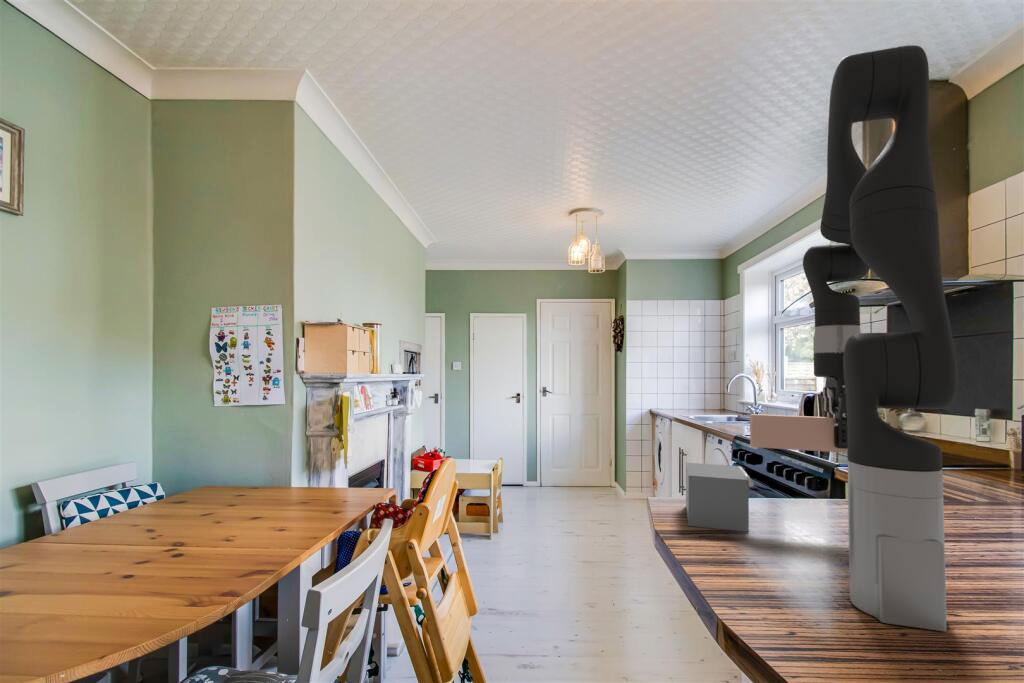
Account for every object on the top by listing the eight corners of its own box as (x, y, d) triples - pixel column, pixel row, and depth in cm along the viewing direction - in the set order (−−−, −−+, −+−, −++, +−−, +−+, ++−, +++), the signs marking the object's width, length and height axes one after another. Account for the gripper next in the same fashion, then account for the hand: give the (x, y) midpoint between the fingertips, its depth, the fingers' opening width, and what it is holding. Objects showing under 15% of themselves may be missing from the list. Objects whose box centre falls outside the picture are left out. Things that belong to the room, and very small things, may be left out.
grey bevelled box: (754, 532, 89) (754, 480, 89) (688, 525, 92) (688, 475, 92) (743, 511, 102) (742, 466, 103) (685, 506, 105) (685, 462, 106)
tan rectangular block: (850, 452, 90) (850, 419, 90) (752, 447, 95) (752, 414, 95) (846, 451, 92) (845, 417, 93) (750, 445, 97) (750, 413, 97)
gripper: (876, 349, 85) (878, 454, 84) (848, 353, 98) (849, 443, 97) (825, 349, 87) (826, 451, 86) (804, 352, 101) (805, 441, 100)
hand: (838, 446), depth 92 cm, fingers closed on tan rectangular block, 2 cm apart
